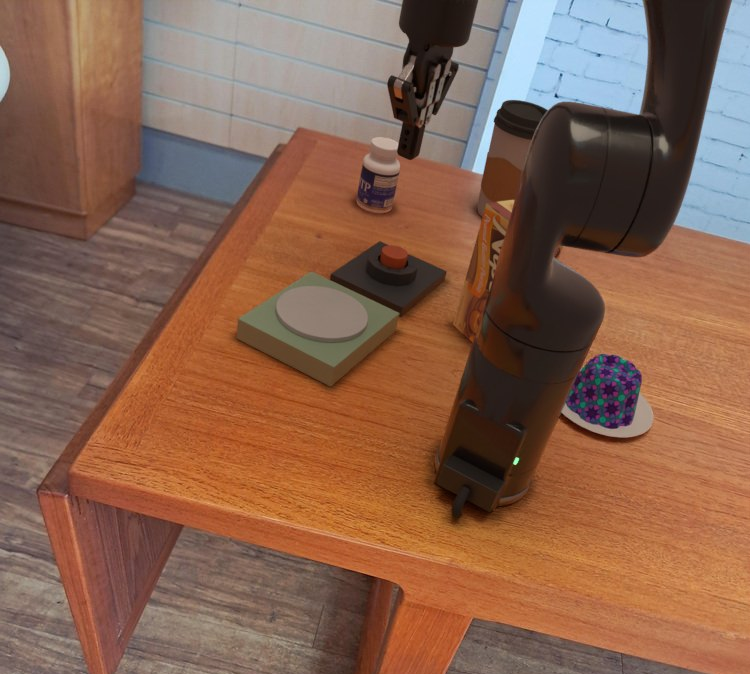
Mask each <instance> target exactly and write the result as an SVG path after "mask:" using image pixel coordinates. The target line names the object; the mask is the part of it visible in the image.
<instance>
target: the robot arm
mask: <svg viewBox="0 0 750 674" xmlns="http://www.w3.org/2000/svg"><path fill="white" fill-rule="evenodd" d="M732 1H733V0H642V6H643V11H644V19H645V24H646V25H645V26H646V34H647V35H646V36H647V56H646V57H647V59H646V70H645V71H646V73H645V81H644V87H643V94H642V100H641V105H640V110H639V114H638V113H633V112H627V111H623V110H619V109H613V108H607V107H602V106H598V105H592V104H588V103H583V102H576V101H566V100H565V101H560V102H556V103H555V104H553V105H552V106H551V107H550V108H549V109H547V110H548V111H547V112H546V113H545V115H544V116H543V117H542V119H541V120H540V122H539V124H538V126H537V128H536V130H535V132H534V135H533V137H532V140H531V143H530V145H529V148H528V151H527V155H526V158H525V162H524V165H523V169H522V173H521V177H520V181H519V185H518V189H517V193H516V197H515V201H514V205H513V209H512V212H511V216H510V220H509V223H508V227H507V231H506V234H505V237H504V241H503V244H502V247H501V250H500V254H499V257H498V261H497V265H496V269H495V273H494V277H493V281H492V285H491V288H490V291H489V294H488V298H487V301H486V304H485V307H484V310H483V313H482V316H481V319H480V323H479V326H478V329H477V332H476V334H475V338H474V341H473V343H472V344H471V347H470V351H469V354H468V357H467V359H466V363H465V366H464V369H463V372H462V375H461V379H460V381H459V385H458V388H457V392H456V394H455V397H454V400H453V404H452V407H451V409H450V413H449V415H448V418H447V422H446V424H445V429H444V431H443V435H442V438H441V440H440V443H439V445H438V447H437V449H436V453H435V457H434V468H435V471H436V474H435V476H434V480H433V482H434V483H435V484H436V485H437V486H440V487H442V488H443V489H445V490H447V491H449V492H450V493H453V494H455V495H456V496H455V498H454V501H453V504H452V506H451V517H452V518H453V519H454V520H459V519H461V518H462V516H463V513H462V512H463V508H464V505H465V503H466V501H468V502H470V503H472V504H473V505H475V506H476V507H479V508H481V509H483V510H485V511H486V512H488V513H489V512H491V513H492V512H494V511H495V509H496V508H497V507H501V506H502V507H503V506H508V505H511V504H514V503H517V502H518V501H520V500H522V498H523V497H524V496H526V494H527V493H528V491H529V489H530V486H531V484H532V482H533V477H534V475H535V472H536V470H537V468H538V466H539V464H540V461H541V459H542V457H543V455H544V452H545V450H546V448H547V446H548V443H549V441H550V439H551V437H552V434H553V432H554V430H555V428H556V426H557V423H558V421H559V419H560V417H561V414H562V410H563V407H564V405H565V403H566V401H567V398H568V396H569V394H570V392H571V389H572V387H573V385H574V383H575V381H576V378H577V376H578V374H579V372H580V370H581V368H583V365H584V363H585V361H586V359H587V357H588V354H589V352H590V349H591V347H592V345H593V343H594V341H595V340H596V337H597V336H598V333H599V330H600V328H601V326H602V324H603V321H604V318H605V313H606V305H605V304H606V303H605V301H604V298H603V296H602V294H601V292H600V291H599V290H598V288H597V287H596V286H595V285H594V284H593V283H592V282H591V281H590V280H589V279H587V278H586V277H585V276H583V275H582V274H581V273H579V272H578V271H576V270H575V269H574V268H573V269H572V268H571V267H569V266H568V265H566V264H565V263H563V262H562V261H560V260H559V259H558V260H557V259H556V258H555V257H554V253H555V250H556V248H557V247H558V246H563V247H566V248H572V249H578V250H583V251H590V252H596V253H602V254H607V255H614V256H619V257H625V258H627V257H628V258H639V259H640V258H645V257H647V256H649V255H651V254H652V253H654V252H656V250H657V249H659V247H660V246H661V245H662V244H663V243H664V241H665V240H666V239H667V237H668V235H669V233H670V232H671V230H672V229H673V226H674V225H675V223H676V220H677V218H678V216H679V213H680V210H681V207H682V205H683V202H684V199H685V196H686V193H687V189H688V187H689V183H690V179H691V175H692V172H693V169H694V168H693V167H694V163H695V159H696V156H697V151H698V148H699V143H700V138H701V134H702V130H703V124H704V120H705V116H706V111H707V107H708V103H709V98H710V93H711V89H712V85H713V80H714V76H715V72H716V67H717V64H718V63H717V62H718V57H719V53H720V49H721V44H722V40H723V37H724V32H725V29H726V26H727V25H726V24H727V21H728V18H729V13H730V10H731V6H732ZM478 3H479V0H402V2H401V8H400V14H399V19H398V27H399V29H400V31H401V32H402V33H403V34H404V35H406V37H407V39H408V44H407V46H406V50H405V52H404V55H403V58H402V65H401V72H400V74H399V75H398V76H395V75H390V76H389V77H388V80H387V82H386V83H387V84H386V85H387V92H388V96H389V100H390V105H391V106H390V107H391V110H392V115H393V118H394V119H395V120H397V121H400V122H402V125H401V129H400V135H399V138H398V139H399V140H398V143H399V144H398V149H397V153H398V157H401V158H403V159H406V160H409V161H413V160H414V159H416V158H417V157H419V156H420V153H421V149H422V144H423V138H424V135H425V130H426V126H428V124H430V122H431V119H432V116H436V115H437V114H438V113H439V111H440V108H441V106H442V105H443V103H444V100H445V98H446V96H447V94H448V93H449V90H450V88H451V86H452V83H453V82H454V79H455V78H456V75H457V73H458V72H459V67H460V66H459V65H460V64H459V63H457V62H455V61H453V60H452V57H453V53H454V48H460V47H463V46H465V45H467V43H468V42H469V40H470V38H471V32H472V29H473V24H474V20H475V16H476V12H477V7H478Z"/></svg>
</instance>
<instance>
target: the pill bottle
mask: <svg viewBox="0 0 750 674" xmlns="http://www.w3.org/2000/svg"><path fill="white" fill-rule="evenodd" d="M398 144H399V141H398V142H397V141H396V140H394V139H392V138H389V137H384V136H376V137H373V138H372V139H371V140H370V145H369V153H367V154H366V155H365V156H364V157H363V160H362V164H361V170H360V176H359V181H358V188H357V193H356V204H357V206H358V207H359V208H360V209H362V210H363V211H366V212H369V213H373V214H386V213H387V214H388V213H389V212H390V211H392V209H393V206H394V201H395V196H396V191H397V187H398V182H399V177H400V173H401V163H400V161H399V159H398V157H399V155H398V153H397V149H398Z"/></svg>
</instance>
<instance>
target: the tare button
mask: <svg viewBox="0 0 750 674" xmlns="http://www.w3.org/2000/svg"><path fill="white" fill-rule="evenodd" d="M408 254H409V253H408V251H407V250H406V249H404V248H403V247H401V246H398V245H391V244H388V246H385V247H383V248H382V252H381V257H380V263H381V264H382V265H384V266H386V267H389V268H394V269H402V268H405V266H406V261H407V257H408Z"/></svg>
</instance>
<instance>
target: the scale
mask: <svg viewBox="0 0 750 674" xmlns="http://www.w3.org/2000/svg"><path fill="white" fill-rule="evenodd" d="M399 314H400V313H398V312H396V311H394V310H392V309H390V308H388V307H386V306H383V305H381V304H379V303H377V302H375V301H373V300H371V299H369V298H367V297H365V296H362V295H360V294H358V293H356V292H354V291H352V290H350V289H348V288H346V287H343V286H341V285H339V284H337V283H335V282H333V281H331V280H330V278H326V277H325V276H322V275H320V274H318V273H316V272H314V271H312V270H310V271H309V272H307V273H306V274H304V275H303V276H301V277H299V279H297V280H296V281H294V282H292V283H291V284H289V285H288V286H286V287H284V288H283V289H281V290H280V291H278V292H277V293H275V294H274V295H272V296H271V297H269V298H267V299H266V300H264V301H262V302H261V303H259V304H258V305H256V306H255V307H253V308H252V309H250V310H248V311H247V312H246V313H244V314H243V315H241V316H240V317H238V318H237V325H236V339H237V340H239V341H241V342H242V343H244V344H247V345H248V346H250V347H252V348H254V349H256V350H258V351H260V352H262V353H264V354H266V355H268V356H269V357H272V358H274V359H275V360H277V361H279V362H281V363H283V364H285V365H287V366H289V367H291V368H293V369H295V370H297V371H299V372H301V373H303V374H305V375H306V376H308V377H310V378H313V379H315V380H316V381H318V382H320V383H322V384H324V385H327V386H328V387H333V386H334V385H335V384H336V383H338V381H339V380H341V379H342V378H343V377H344V376H346V374H348V373H349V372H350V371H351V370H352V369H353V368H354V367H355V366H357V365H358V364H359V363H360V362H362V361H363V360H364V359H365V358H366V357H367V356H368V355H370V354H371V353H372V352H373V351H374V350H375V349H377V348H378V347H379V346H380V345H381V344H383V343H384V342H385V341H386V340H387V339H388V338H390V336H392V335H393V334H394V333H396V330H397V327H398V322H399V318H400V317H399Z"/></svg>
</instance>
